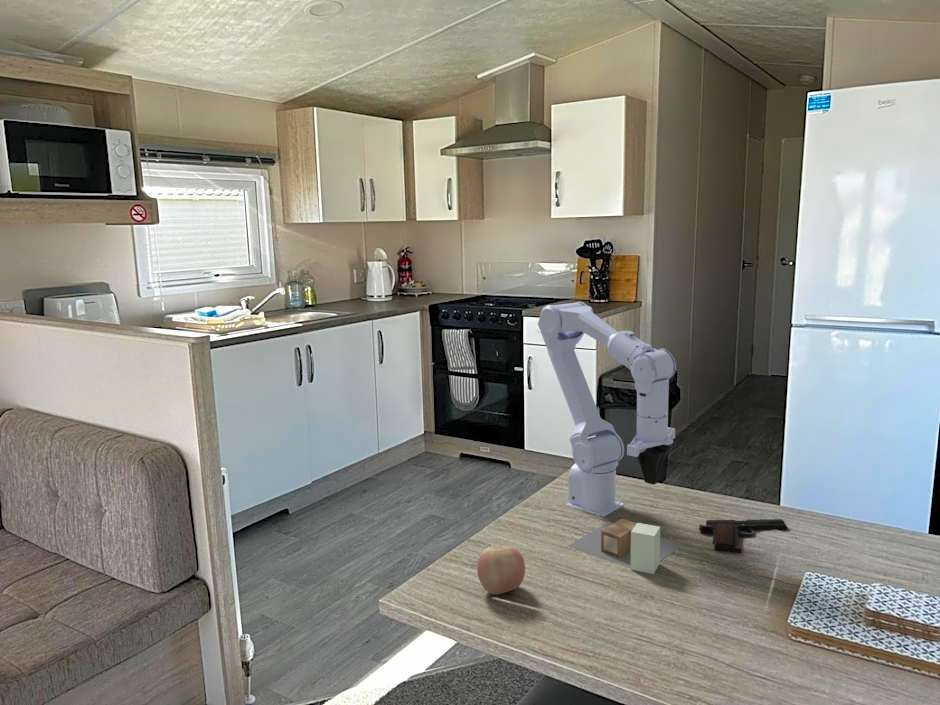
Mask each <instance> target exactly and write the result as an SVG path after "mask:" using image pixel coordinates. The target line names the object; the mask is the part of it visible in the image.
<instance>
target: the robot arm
mask: <svg viewBox="0 0 940 705" xmlns="http://www.w3.org/2000/svg"><path fill="white" fill-rule="evenodd" d="M537 326H538V328H539V330H540V333H541V336H542V340H544V344H545V346H546V350H547V353H548V356H549V358H550V362H551V365H552V366H553V367H552V368H553V370H554V372H555V374H556V378H557V380H558V383H559V385H560V388H561V390H562V394H563V396H564V399H565V401H566V403H567V407H568V409H569V412H570V415H571V417H572V419H573V422H574V425H575V428H574V430H573V432H572V434H571V435H570V437H569V442H570V445H571V450H572V451H571V452H572V458H573V461H574V464H573V465H572V466H571V468H570V469H569V473H568V479H567V480H568V483H567V484H568V502H567V503H565V504H566V507H570V508H573V509H577V510H579V511H580V510H581V511H583V512H586V513H589V514H592V515H596V516H598V517H603V518H605V517H606V516H608V515H610V514H611V513H613V512H616V511H617V510H619V509H620V508H622V507H624V505H625V503H623V502H620V501H616V500H617V499H616V498H617V496H616V493H617V491H616V490H617V489H616V486H617V485H616V484H617V483H616V479H617V478H616V476H617V471H616V470H617V467H618V466H619V461H621V460H622V459H623V457H624V454H625V446H624V442H623V439H622V437H620V435H619V434H618V433H617V432H616V430H615V428H614V426H613V423H612V424H611V422H608V421H607V420H604V419H603V418H601V415H600V413H599V410H598V408H597V405H596V403H595V400H594V398H593V395H592V393H591V390H590V388H589V385H588V382H587V379H586V377H585V375H584V372H583V370H582V367H581V364H580V361H579V359H578V356H577V354H576V352H575V351H576V350H575V348H576V346H577V344H579V342H580V341H581V340H582V338H583V336H584V335H587V336H589V337H590V338H592V339H594V340H596V341H597V342H599V343H601V344H603V345H604V346H605V347H607V352H608V355H609V356H610V357H612V359H614V360H616V361H617V362H619V363H620V364H621V365H623V366H624V367H626V368H627V369H628V370H630V373H631V377H632V378H633V380H634V389H635V391H636V434H635V436H634V437H633V439H632V441H631V442H630V443H628V444H627V445H626V455H627V456H631V457H635V458H636V459H637V460H638V462H639V465H640V469H641V472H642V476H643V480H644V481H643V482H644V483H646V484H650V485H656V484H658V482H659V480H660V475H661V472H662V468H663V465H664V463H665V460H666V458H667V456H668V455H669V453H670V452H671V447H670V446H669V445H672V444H673V443H674V439H676V428H674V427H669V390H670V379H672V377H673V376H674V375H675V373H676V370H677V365H676V364H677V363H676V360H675V357H674V356H673V354H672V353H671V352H670V351H668V349H666V348H658V349H656V348H654V347H653V346H652V345H651V344H650V343H645V342H644V341H643V340H641V339H640V338H639V337H637V336H635V332H634V331H632V330H620V331H617V330H616V329H614V328H613V327H612V326H611V325H609V323H606V322H605V321H604V320H603V319H602V318H601V317H599V316H598V315H596V314H595V313H594V310H593V307H592V306H589V305H587V304H586V303H584V302H583V301H576V302H572V303H563V304H555V305H552V304H551V305H549V304H548V305H546V306H543V308H542V310H541V311H540V315H539V319H538V321H537Z"/></svg>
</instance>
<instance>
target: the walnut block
mask: <svg viewBox="0 0 940 705" xmlns="http://www.w3.org/2000/svg"><path fill="white" fill-rule="evenodd" d="M637 523H638V522H635V521H631V520H629V519H625V518H621V519H619V520H617V521H615V522H614V524H612V525H610V526H609V527H607V528H605V529H604V530H602V531H601V552H604V553H607V554H610V555H613V556H616V557H619V558H621V557H623V556H624V555H625V554H627V553H628V552H630V551H631V531H632V530H633V528H634V527H635V525H636V524H637Z"/></svg>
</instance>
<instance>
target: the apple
mask: <svg viewBox="0 0 940 705" xmlns="http://www.w3.org/2000/svg"><path fill="white" fill-rule="evenodd" d="M476 572H477V576H478V579H479V583H480V584H481V586H482V587H483V589H484V590H485V591H486V592H487V593H489V594H491V595H494V596H498V595H501V594H504V593H507V592H511V591H512V590H514V589H515V590H516V589H517V588H519V587H520V586H521V584H522V583H523V582H524V578H525V574H526V563H525V560H524V558H523V555H522V553H521V552H520V551H519V550H518V548H516V547H514V546H509V545H492V546H488V547H486V548H485V549H483V550H482V552H481V553H480V555H479V556H478V560H477V563H476Z"/></svg>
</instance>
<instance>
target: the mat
mask: <svg viewBox="0 0 940 705" xmlns="http://www.w3.org/2000/svg"><path fill="white" fill-rule="evenodd" d="M614 523H615V522H613V521H607V522H606V523H604V524H602V525H600V526H599V527H597V528H596V529H593V530H592V531H590V532H588V533H586V534H585V535H583V536H582V537H580V538H579V539H576V540H575V541H573V542H571V543H569V544H568V545H567V547H570V548H573V549H575V550H578V551H581V552H584V553H587V554H590V555H593V556H595V557H598V558H601V559H603V560H606V561H610V562H611V563H615V564H616V565H620V566H623V567H626V568H629V569H630V566H631V551H630V552H628V553H627V554H625V555H624V556H623V557H621V558H619V557H616V556H613V555H610V554H607V553H604V552H601V531H602V530H604V529H605V528H607V527H609V526H610V525H612V524H614ZM683 546H684V544H683V543H680V542H677V541H674V540H670V539H668V538H665V537H661V536H660V562H661V561H663V560H665V559H666V558H667V557H669V556H670V555H672V554H673V553H675V551H677V550H678V549H680V548H681V547H683ZM638 572H639V573H642V574H646V573H645V572H640V571H638Z"/></svg>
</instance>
